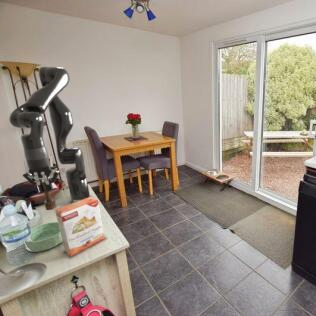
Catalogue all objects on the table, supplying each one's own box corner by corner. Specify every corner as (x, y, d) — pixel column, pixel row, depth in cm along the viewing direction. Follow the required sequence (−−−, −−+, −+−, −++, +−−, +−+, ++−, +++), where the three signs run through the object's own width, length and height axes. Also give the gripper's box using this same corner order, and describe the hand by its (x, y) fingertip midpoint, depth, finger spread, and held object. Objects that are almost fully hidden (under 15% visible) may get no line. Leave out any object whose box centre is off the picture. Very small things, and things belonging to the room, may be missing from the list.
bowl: (35, 234, 104) (32, 224, 102) (71, 229, 108) (69, 219, 107) (18, 255, 91) (14, 245, 89) (59, 249, 96) (56, 238, 94)
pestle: (48, 206, 108) (40, 180, 103) (57, 205, 109) (51, 179, 105) (44, 210, 105) (36, 184, 100) (54, 209, 106) (47, 183, 101)
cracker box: (71, 257, 92) (60, 214, 85) (64, 251, 95) (53, 209, 88) (105, 239, 103) (98, 199, 96) (98, 234, 106) (91, 195, 99)
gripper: (59, 153, 104) (67, 186, 109) (22, 154, 99) (32, 189, 105) (52, 158, 97) (60, 193, 103) (12, 160, 93) (23, 196, 98)
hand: (46, 191), depth 104 cm, fingers closed on pestle, 2 cm apart
